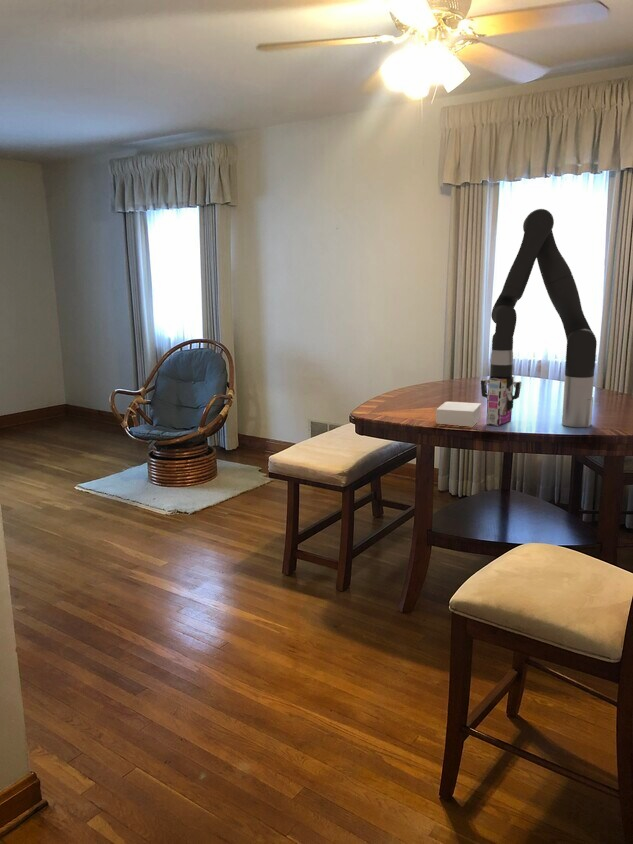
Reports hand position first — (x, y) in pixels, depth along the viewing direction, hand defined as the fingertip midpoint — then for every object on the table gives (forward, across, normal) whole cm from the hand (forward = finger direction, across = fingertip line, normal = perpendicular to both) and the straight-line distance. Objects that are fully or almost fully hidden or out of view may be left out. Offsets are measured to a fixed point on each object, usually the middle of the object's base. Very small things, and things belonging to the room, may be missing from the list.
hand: (499, 409), depth 233 cm
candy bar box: (+5, 0, 0) cm, 5 cm away
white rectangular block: (+5, +14, +4) cm, 15 cm away
